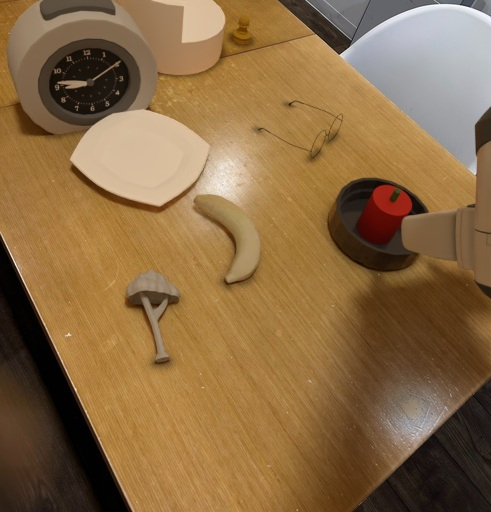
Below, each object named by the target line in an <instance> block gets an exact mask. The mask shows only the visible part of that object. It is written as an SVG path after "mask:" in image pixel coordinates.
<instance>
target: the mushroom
mask: <svg viewBox="0 0 491 512" xmlns="http://www.w3.org/2000/svg"><path fill="white" fill-rule="evenodd" d="M125 296H126V297H127V298H128V300H129V301H130V302H131V303H132V304H133V305H143V307H144V310H145V312H146V315H147V317H148V320H149V322H150V326H151V328H152V332H153V337H154V341H155V343H156V344H155V345H156V350H157V354H156V356H155V359H154V361H155V362H156V363H162V362H167V361H170V360H171V357H170V356H169V355H168V353H167V351H166V348H165V344H164V340H163V335H162V332H161V329H160V324H159V319H160V317H161V316H162V315H163V313H164V311H165V310H166V307H167V306H168V303H174V302H176V301H178V300H180V297H181V293H180V290H179V288H178V286H177V285H175V284H173V283H169V280H168V278H166V275H164V274H163V273H160V272H157V271H156V270H154V269H148V270H146V271H145V272H142V273H139V274H138V275H136V277H134V280H132V281H131V282H129V283H128V284H127V286H126V288H125ZM158 304H160V305H159V306H158V307H156V308H155V309H154V308H153V306H152V305H158Z"/></svg>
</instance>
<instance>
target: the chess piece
mask: <svg viewBox="0 0 491 512" xmlns="http://www.w3.org/2000/svg"><path fill="white" fill-rule="evenodd" d="M237 25H238V28H235V29H233V31H232V35H231V40H232V41H233V42H234V43H235V44H238V45H240V46H241V45H242V46H244V45H246V46H247V45H249V44H250V43H251V39H252V33H251V31H249V30H248V28H249V27H250V26H251V25H250V19H249V17H248V16H247V15H242V16H240V17H239V19H238V22H237Z"/></svg>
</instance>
